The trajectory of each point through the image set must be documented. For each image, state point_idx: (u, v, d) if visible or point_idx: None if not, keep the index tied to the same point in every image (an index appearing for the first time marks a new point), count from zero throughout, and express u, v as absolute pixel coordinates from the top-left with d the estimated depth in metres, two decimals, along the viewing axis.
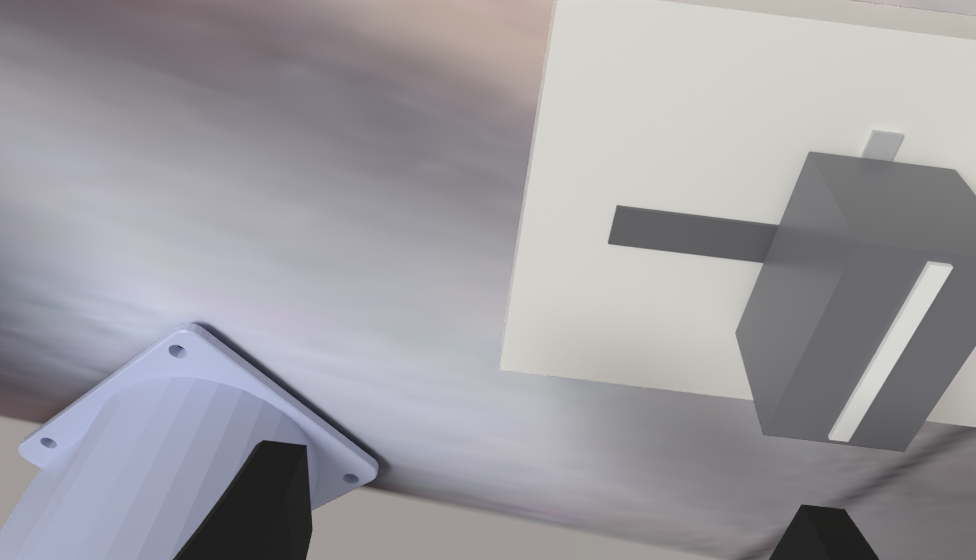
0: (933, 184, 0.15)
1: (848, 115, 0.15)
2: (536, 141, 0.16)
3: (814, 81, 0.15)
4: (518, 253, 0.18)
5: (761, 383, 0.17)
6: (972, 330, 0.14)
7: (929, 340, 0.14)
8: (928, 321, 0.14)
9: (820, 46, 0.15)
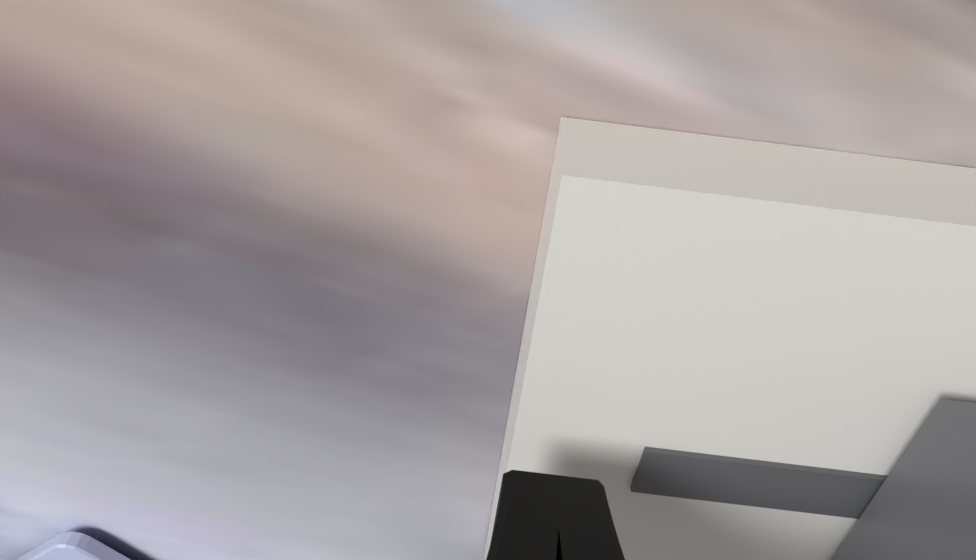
0: None
1: None
2: (527, 370, 0.11)
3: (957, 305, 0.10)
4: None
5: None
6: None
7: None
8: None
9: (973, 261, 0.09)
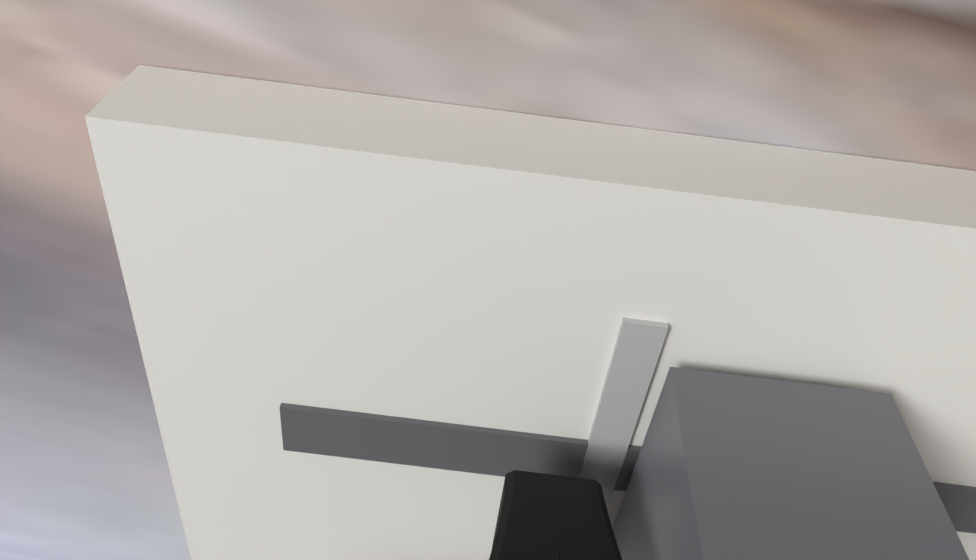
0: (853, 430, 0.10)
1: (581, 298, 0.10)
2: (136, 322, 0.11)
3: (519, 252, 0.10)
4: (168, 455, 0.13)
5: None
6: None
7: None
8: None
9: (514, 205, 0.09)
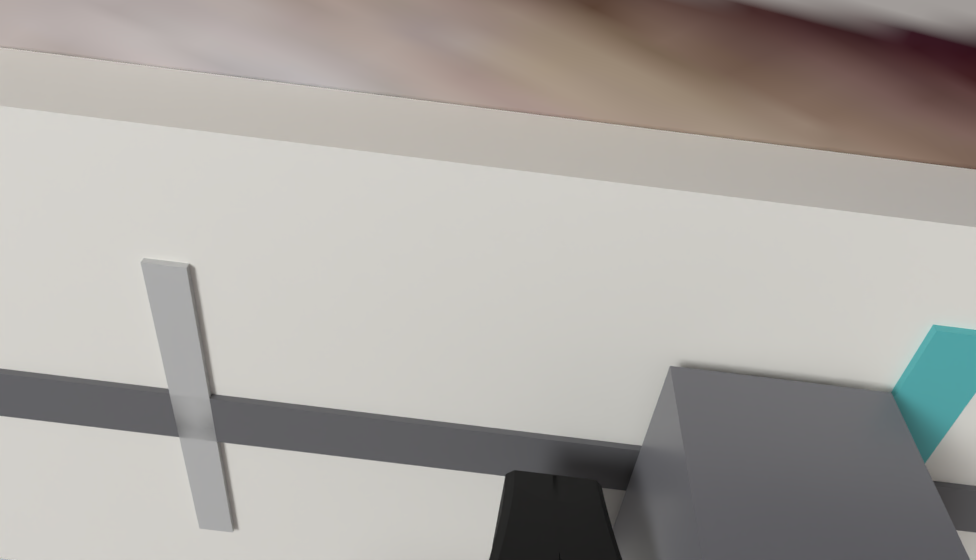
0: (854, 429, 0.10)
1: (94, 237, 0.10)
2: None
3: (12, 189, 0.10)
4: None
5: None
6: None
7: None
8: None
9: None
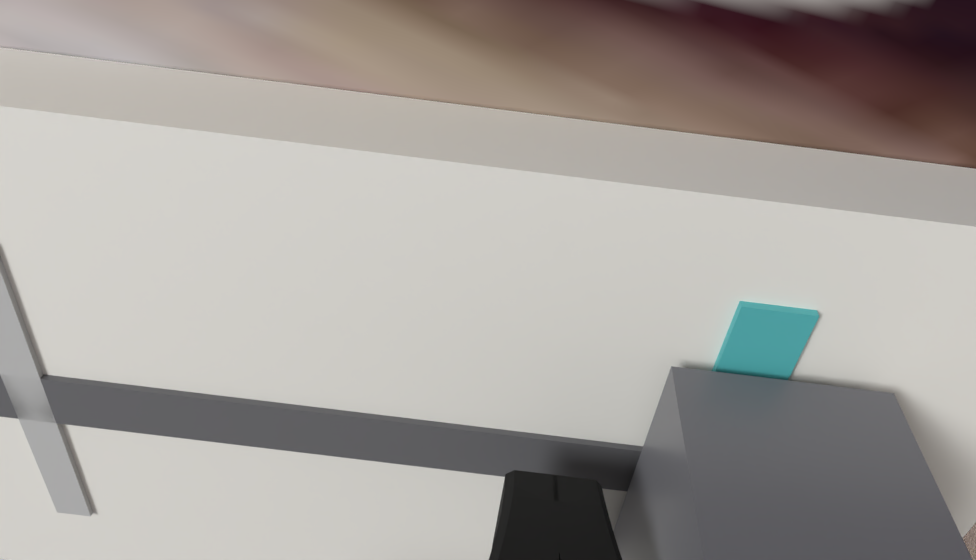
0: (856, 430, 0.10)
1: None
2: None
3: None
4: None
5: None
6: None
7: None
8: None
9: None
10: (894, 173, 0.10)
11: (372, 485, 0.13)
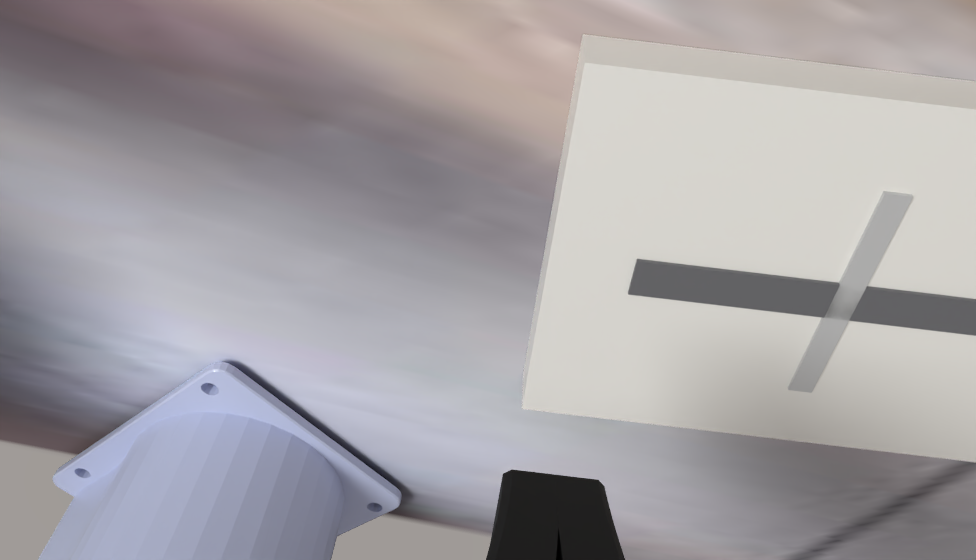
0: None
1: (859, 177, 0.16)
2: (560, 200, 0.17)
3: (827, 147, 0.16)
4: (541, 302, 0.19)
5: None
6: None
7: None
8: None
9: (833, 115, 0.15)
10: None
11: None
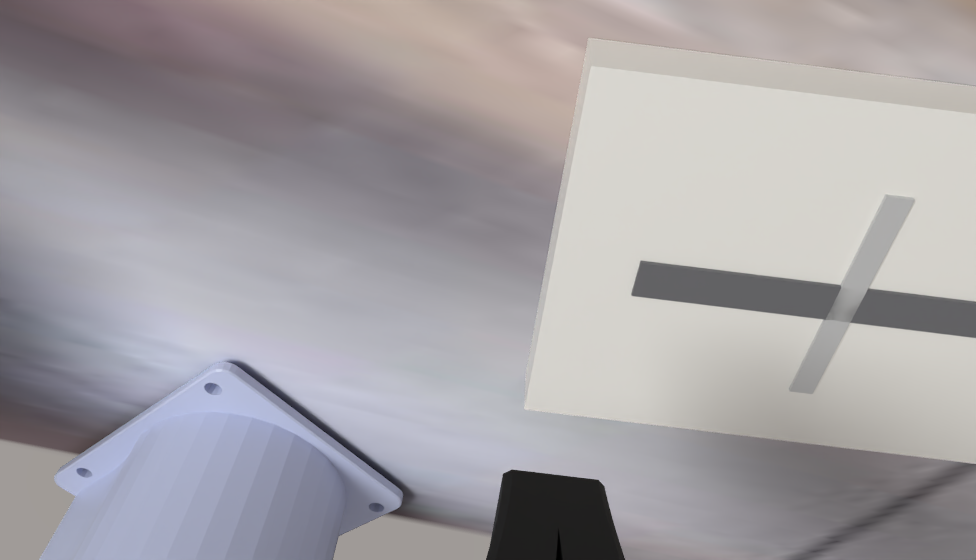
0: None
1: (862, 181, 0.16)
2: (565, 202, 0.17)
3: (830, 150, 0.16)
4: (545, 303, 0.19)
5: None
6: None
7: None
8: None
9: (836, 119, 0.15)
10: None
11: None
